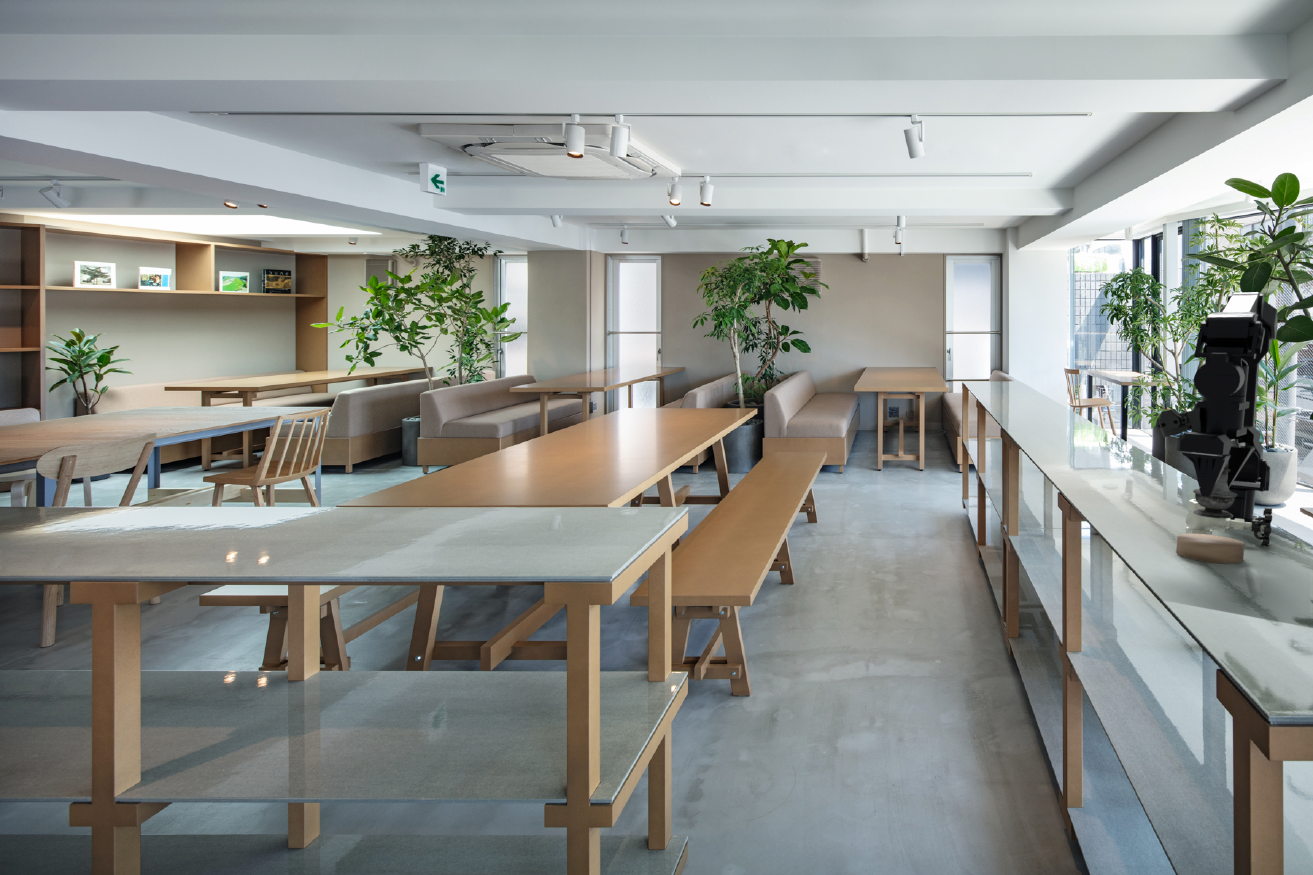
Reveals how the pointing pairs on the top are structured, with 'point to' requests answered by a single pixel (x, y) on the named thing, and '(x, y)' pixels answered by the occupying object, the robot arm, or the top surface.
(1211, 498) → the salt shaker
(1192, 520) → the valve
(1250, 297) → the robot arm
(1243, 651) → the top surface
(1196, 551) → the tan round disc
